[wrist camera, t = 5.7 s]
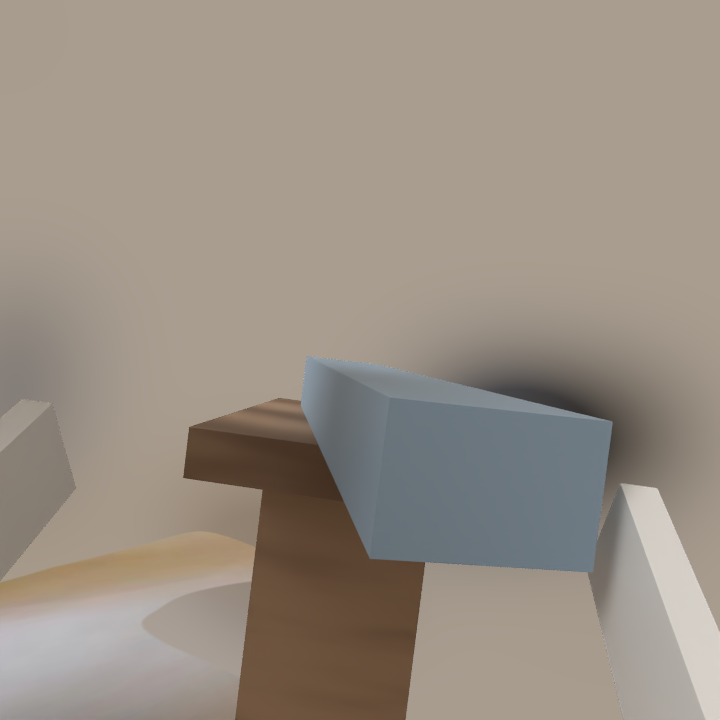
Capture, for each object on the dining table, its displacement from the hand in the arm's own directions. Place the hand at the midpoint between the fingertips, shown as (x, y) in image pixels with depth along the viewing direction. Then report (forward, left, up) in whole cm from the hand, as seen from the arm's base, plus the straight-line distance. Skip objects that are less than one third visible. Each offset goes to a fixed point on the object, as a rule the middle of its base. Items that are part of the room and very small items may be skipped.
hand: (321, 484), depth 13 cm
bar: (-6, +8, -1) cm, 9 cm away
